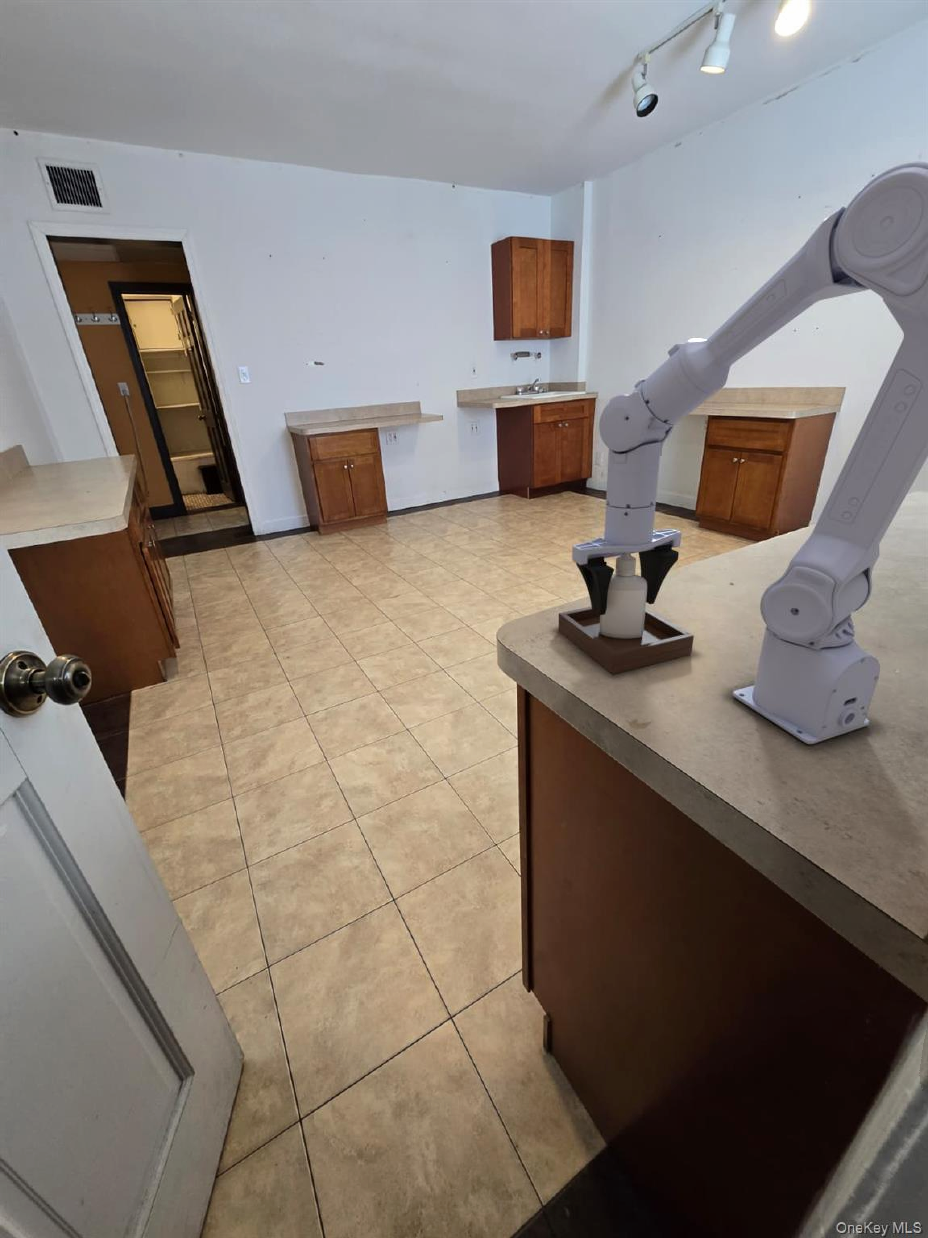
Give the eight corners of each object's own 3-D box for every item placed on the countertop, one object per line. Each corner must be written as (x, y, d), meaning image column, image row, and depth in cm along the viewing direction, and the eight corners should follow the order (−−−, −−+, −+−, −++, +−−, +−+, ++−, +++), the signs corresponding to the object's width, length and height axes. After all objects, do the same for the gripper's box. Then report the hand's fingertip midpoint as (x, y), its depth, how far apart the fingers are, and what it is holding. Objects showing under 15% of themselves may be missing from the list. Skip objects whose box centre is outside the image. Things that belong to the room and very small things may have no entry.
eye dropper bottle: (631, 645, 66) (638, 556, 61) (593, 633, 69) (597, 548, 64) (648, 633, 68) (656, 547, 63) (611, 622, 72) (616, 540, 67)
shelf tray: (691, 654, 65) (694, 635, 64) (612, 674, 62) (614, 655, 61) (627, 615, 77) (628, 598, 76) (558, 630, 74) (558, 613, 73)
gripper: (659, 490, 67) (650, 587, 73) (560, 505, 63) (559, 606, 69) (698, 499, 61) (685, 604, 67) (591, 516, 57) (587, 626, 63)
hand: (623, 606), depth 67 cm, fingers open, 7 cm apart
